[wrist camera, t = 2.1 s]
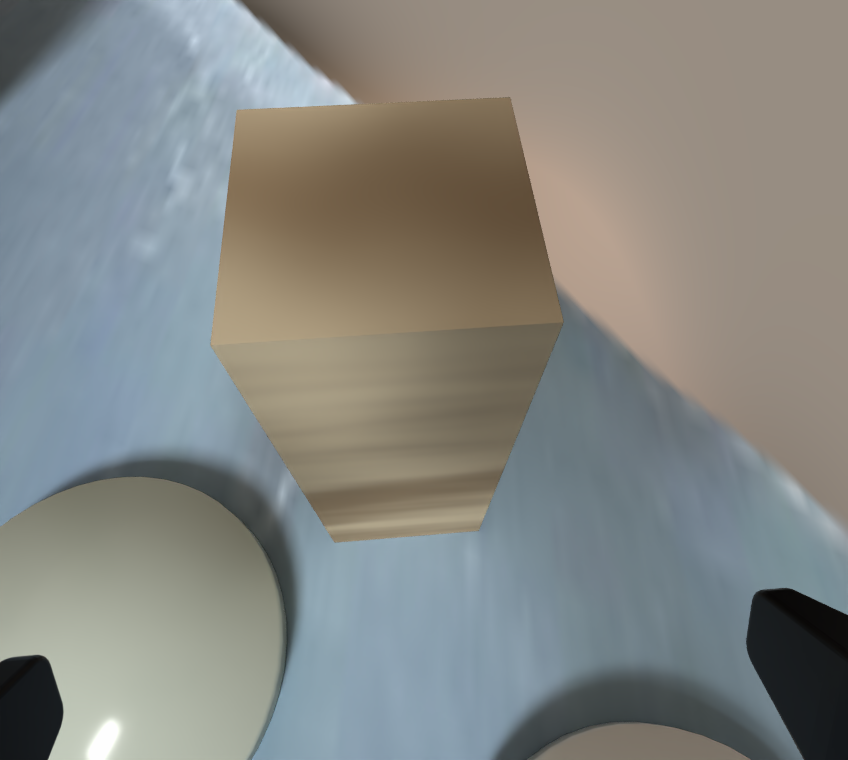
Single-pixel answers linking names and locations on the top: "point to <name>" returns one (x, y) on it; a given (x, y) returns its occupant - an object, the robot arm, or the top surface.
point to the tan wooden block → (386, 305)
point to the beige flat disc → (635, 744)
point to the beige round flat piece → (146, 620)
